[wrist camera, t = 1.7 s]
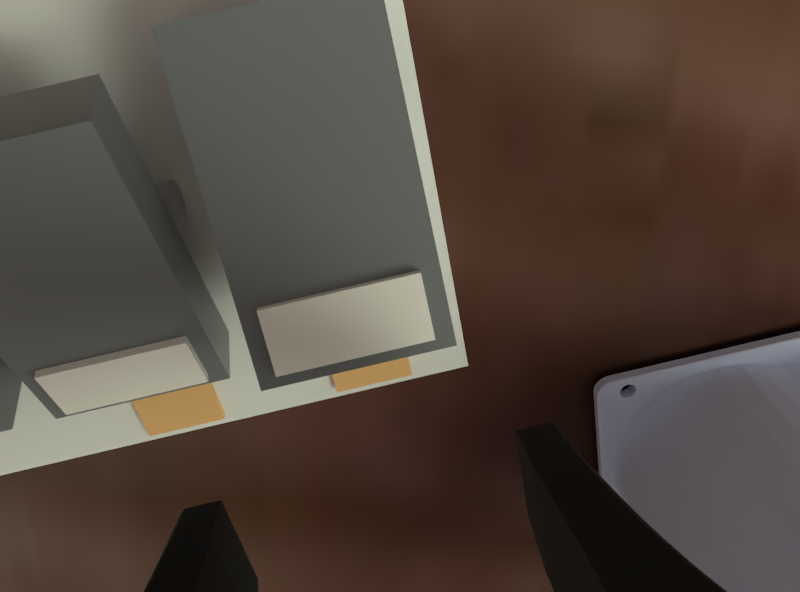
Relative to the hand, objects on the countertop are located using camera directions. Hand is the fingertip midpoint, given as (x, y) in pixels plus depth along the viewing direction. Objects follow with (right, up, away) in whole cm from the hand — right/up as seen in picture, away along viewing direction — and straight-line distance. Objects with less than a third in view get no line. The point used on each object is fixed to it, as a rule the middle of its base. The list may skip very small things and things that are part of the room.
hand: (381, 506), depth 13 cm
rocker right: (-1, +6, +3) cm, 7 cm away
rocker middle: (-6, +5, +3) cm, 8 cm away
